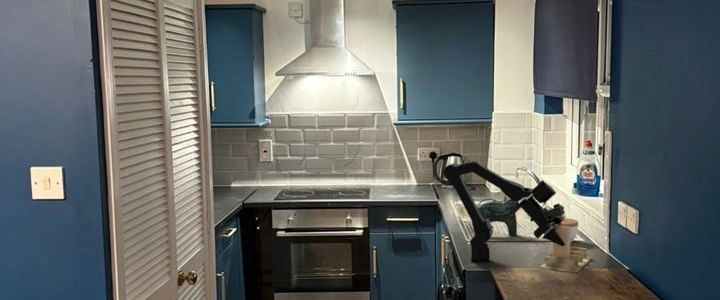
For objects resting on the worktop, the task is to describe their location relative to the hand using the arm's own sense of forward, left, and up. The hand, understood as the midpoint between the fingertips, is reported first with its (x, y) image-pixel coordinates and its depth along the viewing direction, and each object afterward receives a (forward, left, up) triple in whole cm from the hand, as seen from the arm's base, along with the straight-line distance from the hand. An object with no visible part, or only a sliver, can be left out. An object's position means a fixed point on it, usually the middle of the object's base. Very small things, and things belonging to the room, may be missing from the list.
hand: (565, 244), depth 229 cm
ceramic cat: (-20, +52, -9) cm, 56 cm away
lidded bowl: (+6, +40, -9) cm, 41 cm away
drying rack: (+1, +6, -9) cm, 11 cm away
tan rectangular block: (-1, +1, -7) cm, 7 cm away
